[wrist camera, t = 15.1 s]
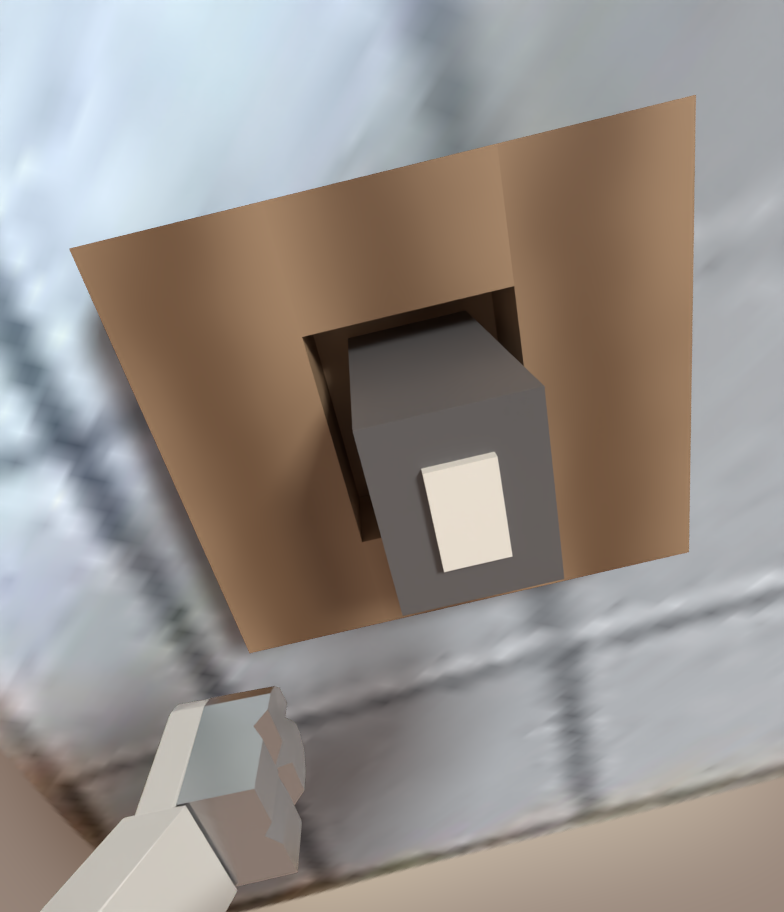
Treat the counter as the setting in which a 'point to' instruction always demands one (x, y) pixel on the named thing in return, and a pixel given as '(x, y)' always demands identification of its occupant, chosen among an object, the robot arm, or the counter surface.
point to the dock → (403, 302)
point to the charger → (454, 461)
